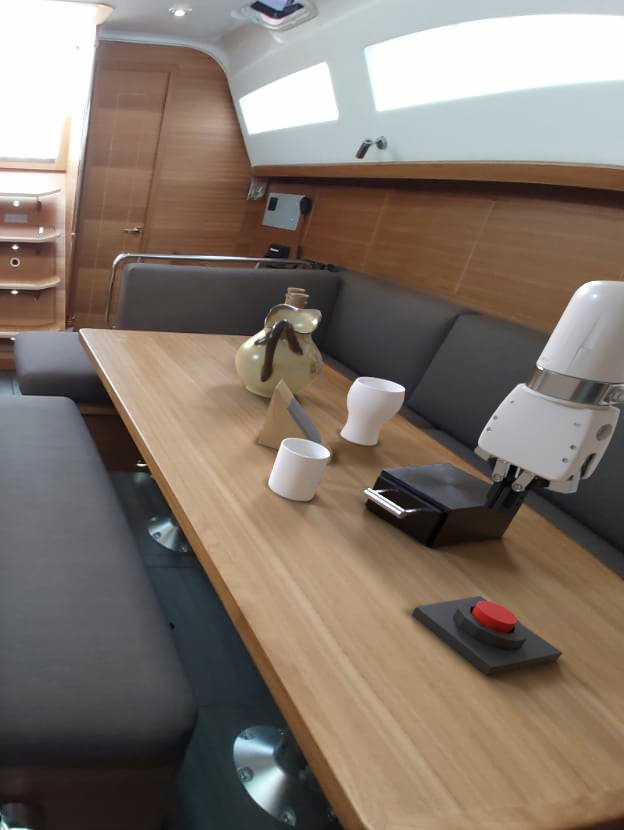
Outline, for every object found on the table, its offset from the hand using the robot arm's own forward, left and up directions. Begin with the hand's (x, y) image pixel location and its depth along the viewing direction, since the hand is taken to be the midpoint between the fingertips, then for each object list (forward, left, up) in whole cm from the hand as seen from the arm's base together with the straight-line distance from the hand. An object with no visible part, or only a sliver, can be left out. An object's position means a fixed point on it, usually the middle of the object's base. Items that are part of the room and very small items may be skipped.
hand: (498, 508), depth 69 cm
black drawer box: (-17, -16, -17) cm, 29 cm away
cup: (-33, -47, -17) cm, 60 cm away
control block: (+3, +7, -17) cm, 19 cm away
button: (+3, +7, -14) cm, 15 cm away
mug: (+1, -31, -17) cm, 36 cm away
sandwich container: (-13, -45, -17) cm, 50 cm away
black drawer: (-13, -16, -16) cm, 26 cm away
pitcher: (-32, -77, -17) cm, 85 cm away
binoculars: (-56, -102, -17) cm, 118 cm away
